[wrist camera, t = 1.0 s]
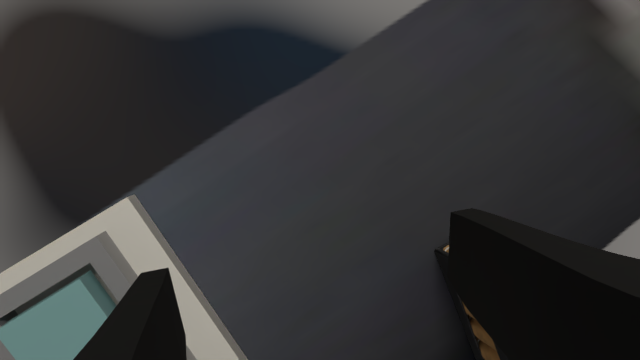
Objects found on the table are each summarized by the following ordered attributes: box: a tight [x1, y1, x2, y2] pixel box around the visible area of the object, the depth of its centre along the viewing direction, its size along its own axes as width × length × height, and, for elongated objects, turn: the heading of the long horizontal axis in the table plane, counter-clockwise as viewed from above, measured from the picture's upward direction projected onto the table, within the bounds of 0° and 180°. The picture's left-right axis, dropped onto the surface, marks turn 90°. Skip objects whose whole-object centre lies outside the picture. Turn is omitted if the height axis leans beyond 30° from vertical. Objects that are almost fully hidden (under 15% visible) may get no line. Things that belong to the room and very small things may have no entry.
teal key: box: [0, 270, 116, 360], centre depth 22 cm, size 4×4×2 cm
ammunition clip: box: [435, 242, 509, 360], centre depth 26 cm, size 11×2×12 cm, turn 23°
